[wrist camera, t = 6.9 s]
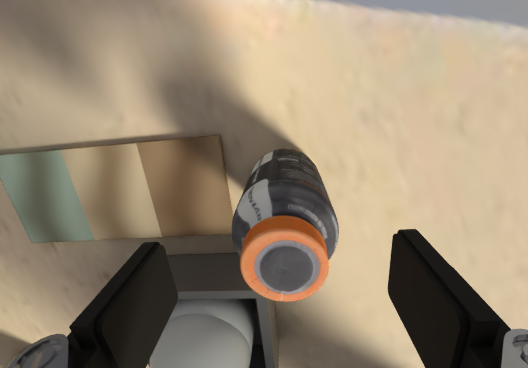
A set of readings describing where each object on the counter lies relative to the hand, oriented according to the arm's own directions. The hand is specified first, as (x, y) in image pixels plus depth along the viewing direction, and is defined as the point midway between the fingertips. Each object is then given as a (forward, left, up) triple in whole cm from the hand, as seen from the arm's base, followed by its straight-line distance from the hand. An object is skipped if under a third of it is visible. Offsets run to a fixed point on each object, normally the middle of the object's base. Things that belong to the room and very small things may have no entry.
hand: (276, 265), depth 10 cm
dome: (+8, +14, -11) cm, 19 cm away
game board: (+15, +1, -12) cm, 19 cm away
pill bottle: (0, +1, -12) cm, 12 cm away
